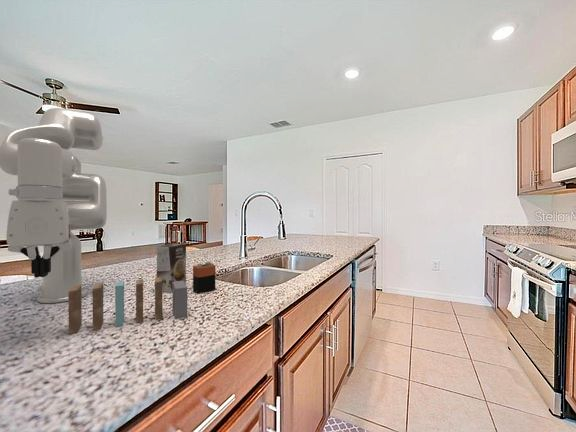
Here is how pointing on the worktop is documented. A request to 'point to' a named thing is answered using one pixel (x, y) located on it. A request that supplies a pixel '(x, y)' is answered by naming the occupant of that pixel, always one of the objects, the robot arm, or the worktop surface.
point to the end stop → (179, 299)
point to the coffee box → (171, 264)
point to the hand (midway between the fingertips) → (41, 276)
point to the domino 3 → (119, 303)
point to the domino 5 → (158, 299)
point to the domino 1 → (75, 309)
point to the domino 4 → (139, 301)
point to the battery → (204, 277)
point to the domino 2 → (97, 306)
